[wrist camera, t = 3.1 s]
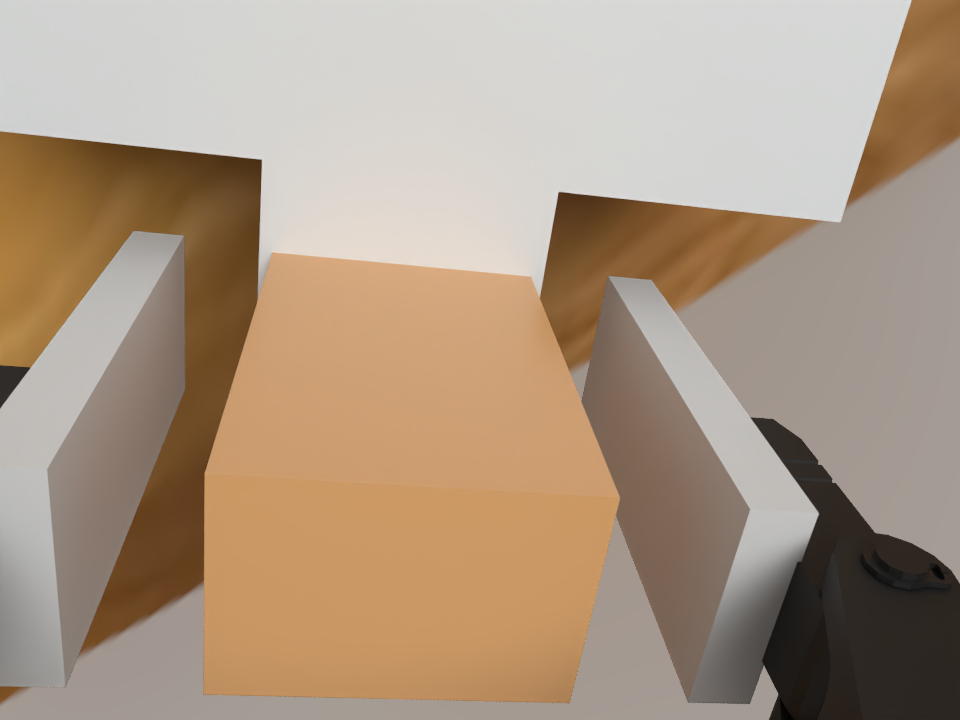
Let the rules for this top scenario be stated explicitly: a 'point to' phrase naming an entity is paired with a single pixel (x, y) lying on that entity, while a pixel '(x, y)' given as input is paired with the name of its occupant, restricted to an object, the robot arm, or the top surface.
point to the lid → (436, 286)
